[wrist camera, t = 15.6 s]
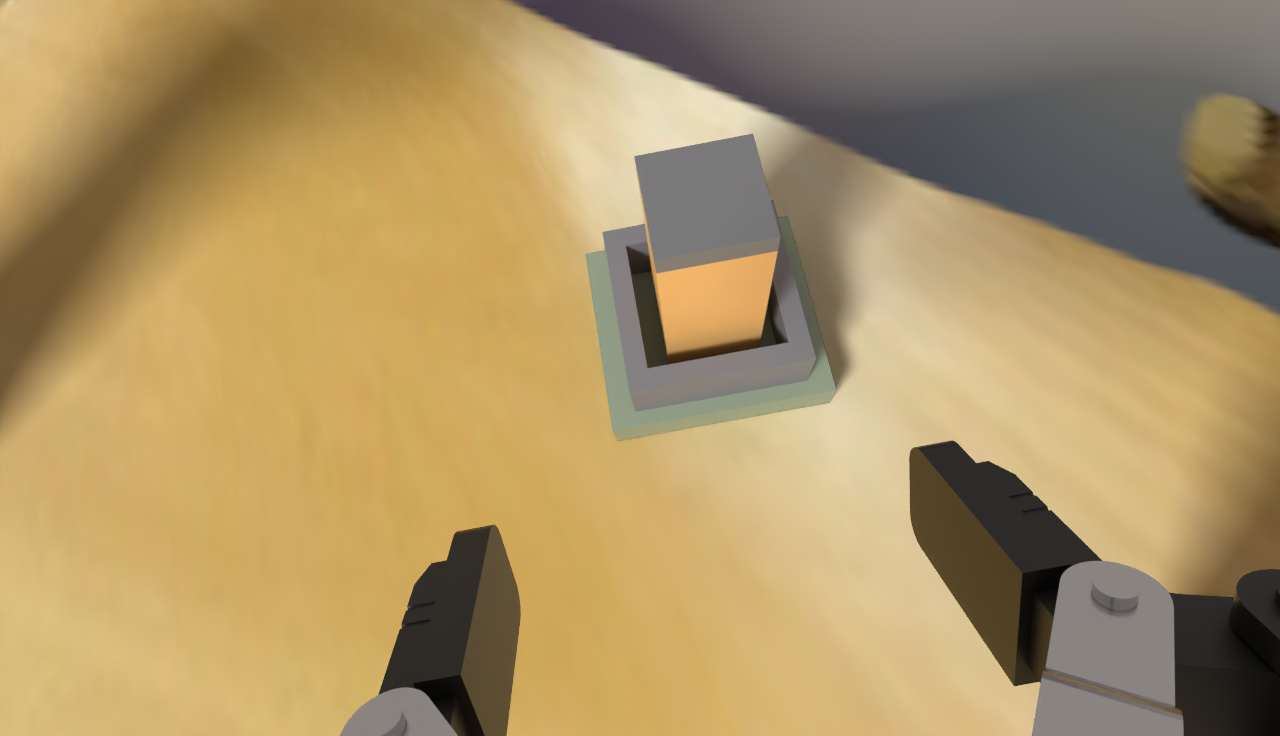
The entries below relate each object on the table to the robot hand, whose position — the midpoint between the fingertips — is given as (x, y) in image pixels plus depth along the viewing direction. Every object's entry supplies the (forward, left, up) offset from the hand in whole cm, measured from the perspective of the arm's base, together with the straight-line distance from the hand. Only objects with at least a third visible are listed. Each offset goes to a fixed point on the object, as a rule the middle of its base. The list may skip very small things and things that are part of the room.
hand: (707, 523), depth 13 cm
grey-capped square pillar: (+2, +13, -19) cm, 23 cm away
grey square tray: (+2, +13, -21) cm, 25 cm away
